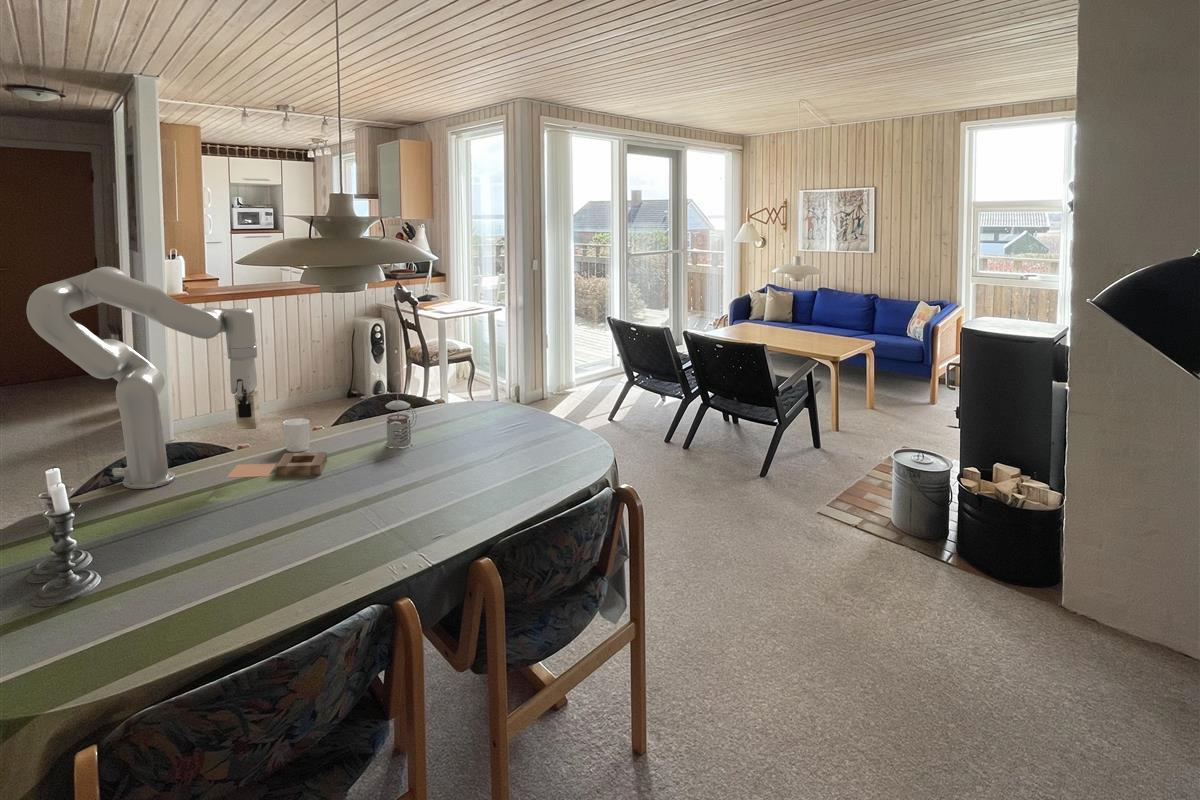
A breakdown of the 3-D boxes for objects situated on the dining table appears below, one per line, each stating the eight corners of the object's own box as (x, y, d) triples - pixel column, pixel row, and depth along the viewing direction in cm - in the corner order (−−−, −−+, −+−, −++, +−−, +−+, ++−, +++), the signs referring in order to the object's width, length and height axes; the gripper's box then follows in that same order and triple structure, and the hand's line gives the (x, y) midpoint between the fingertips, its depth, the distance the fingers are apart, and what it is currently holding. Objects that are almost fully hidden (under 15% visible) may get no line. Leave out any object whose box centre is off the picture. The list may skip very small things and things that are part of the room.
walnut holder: (277, 479, 209) (276, 466, 208) (285, 465, 220) (284, 453, 219) (321, 478, 211) (320, 465, 210) (327, 464, 222) (326, 452, 222)
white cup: (316, 450, 235) (314, 421, 232) (294, 456, 228) (292, 426, 226) (301, 446, 239) (299, 416, 236) (279, 451, 232) (277, 422, 230)
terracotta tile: (226, 480, 206) (226, 477, 206) (237, 467, 217) (237, 464, 217) (268, 479, 209) (267, 476, 208) (276, 466, 219) (276, 463, 219)
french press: (378, 444, 244) (375, 371, 237) (407, 437, 252) (405, 367, 246) (395, 451, 237) (392, 376, 231) (424, 443, 246) (422, 372, 240)
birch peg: (237, 429, 206) (234, 395, 204) (242, 424, 211) (239, 391, 209) (256, 428, 207) (253, 395, 205) (260, 424, 212) (257, 391, 210)
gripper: (236, 347, 211) (241, 407, 216) (219, 358, 195) (225, 423, 199) (263, 347, 213) (268, 406, 217) (248, 358, 197) (254, 422, 201)
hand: (247, 413), depth 208 cm, fingers closed on birch peg, 4 cm apart
